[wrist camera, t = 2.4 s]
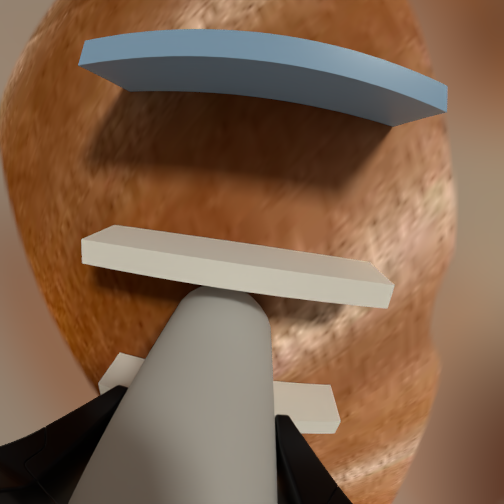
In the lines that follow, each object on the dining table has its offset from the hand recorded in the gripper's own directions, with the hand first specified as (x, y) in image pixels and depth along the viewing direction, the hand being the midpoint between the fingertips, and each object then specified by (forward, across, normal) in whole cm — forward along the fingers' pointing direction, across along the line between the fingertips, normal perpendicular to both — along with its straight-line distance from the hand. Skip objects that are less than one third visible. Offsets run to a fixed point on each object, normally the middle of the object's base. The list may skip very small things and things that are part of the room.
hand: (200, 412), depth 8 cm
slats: (+6, 0, -4) cm, 7 cm away
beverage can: (+6, 0, 0) cm, 6 cm away
